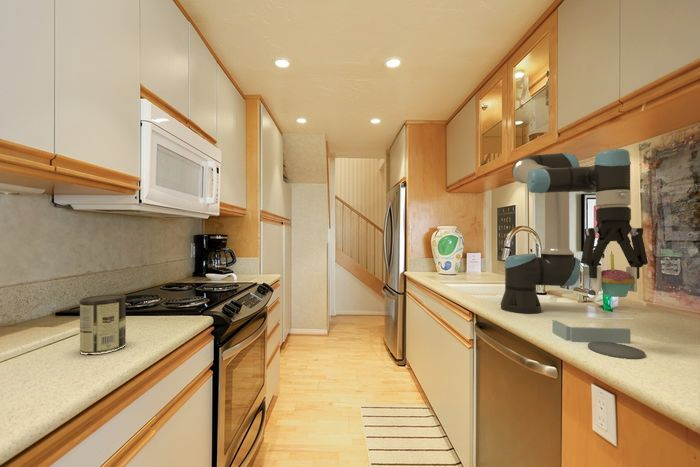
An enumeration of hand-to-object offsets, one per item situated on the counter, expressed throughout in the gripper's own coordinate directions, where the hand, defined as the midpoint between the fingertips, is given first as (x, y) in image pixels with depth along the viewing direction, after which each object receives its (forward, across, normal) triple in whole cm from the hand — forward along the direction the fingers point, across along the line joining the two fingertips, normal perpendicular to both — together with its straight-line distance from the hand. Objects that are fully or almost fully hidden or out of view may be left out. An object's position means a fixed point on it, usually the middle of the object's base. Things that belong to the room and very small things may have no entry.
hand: (614, 290), depth 91 cm
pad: (+16, 0, -1) cm, 16 cm away
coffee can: (+17, -138, -11) cm, 140 cm away
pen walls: (+16, 0, +11) cm, 19 cm away
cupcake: (+1, 0, 0) cm, 1 cm away
